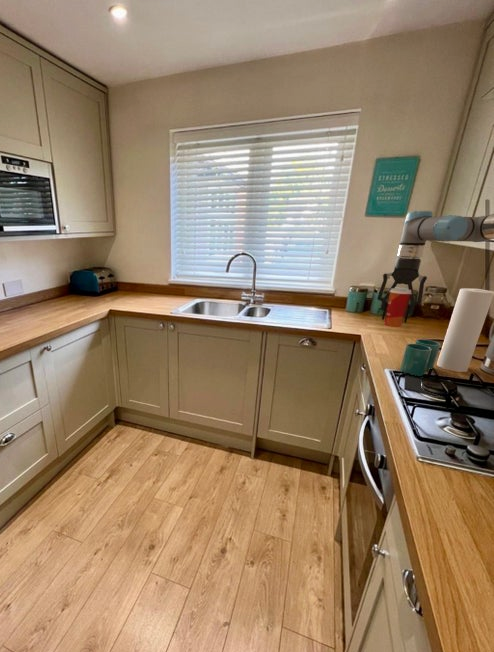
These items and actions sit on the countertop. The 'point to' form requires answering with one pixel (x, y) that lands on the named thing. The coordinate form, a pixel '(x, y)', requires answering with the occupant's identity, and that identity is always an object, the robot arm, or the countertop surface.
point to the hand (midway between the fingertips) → (393, 320)
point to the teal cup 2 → (434, 351)
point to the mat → (415, 386)
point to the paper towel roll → (464, 329)
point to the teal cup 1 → (415, 359)
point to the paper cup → (397, 306)
